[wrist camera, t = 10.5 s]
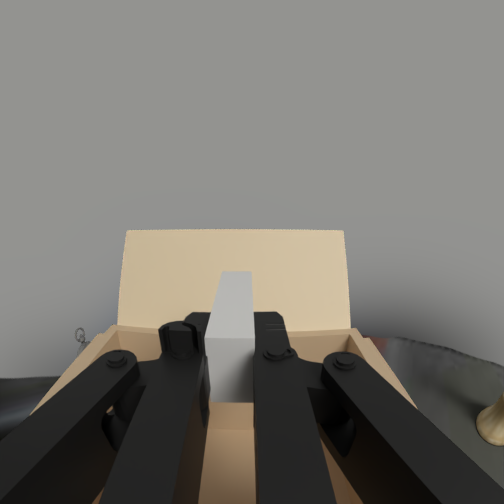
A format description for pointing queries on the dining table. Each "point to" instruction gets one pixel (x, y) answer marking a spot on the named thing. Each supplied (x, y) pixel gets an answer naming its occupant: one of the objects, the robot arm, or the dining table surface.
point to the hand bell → (492, 423)
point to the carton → (236, 409)
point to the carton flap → (235, 259)
